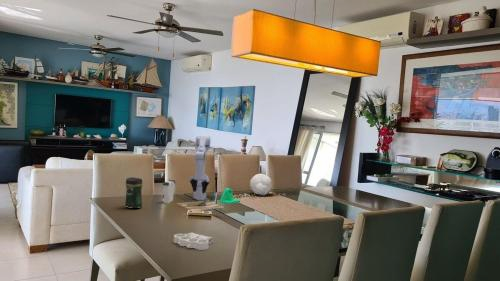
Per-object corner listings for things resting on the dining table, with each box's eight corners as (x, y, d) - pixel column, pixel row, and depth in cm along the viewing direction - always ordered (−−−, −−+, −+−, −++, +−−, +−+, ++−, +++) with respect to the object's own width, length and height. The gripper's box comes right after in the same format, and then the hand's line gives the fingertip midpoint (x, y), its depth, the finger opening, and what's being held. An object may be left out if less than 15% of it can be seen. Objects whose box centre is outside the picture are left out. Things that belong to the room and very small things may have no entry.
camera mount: (227, 206, 250) (228, 190, 249) (219, 204, 255) (220, 189, 254) (240, 204, 259) (241, 188, 258) (232, 202, 264) (233, 187, 263)
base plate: (177, 205, 245) (177, 199, 245) (207, 202, 257) (207, 196, 257) (191, 213, 228) (192, 206, 227) (224, 209, 240) (224, 203, 240)
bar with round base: (185, 205, 239) (185, 201, 239) (203, 203, 246) (203, 199, 246) (189, 207, 235) (189, 203, 235) (207, 205, 242) (207, 201, 242)
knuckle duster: (218, 244, 175) (198, 253, 163) (188, 236, 184) (166, 244, 172) (219, 237, 175) (198, 245, 162) (188, 230, 184) (166, 237, 172)
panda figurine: (164, 201, 255) (164, 179, 255) (180, 203, 253) (181, 180, 252) (156, 205, 244) (156, 181, 243) (173, 207, 241) (173, 183, 240)
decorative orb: (259, 191, 305) (260, 171, 304) (278, 194, 295) (279, 174, 294) (244, 194, 289) (244, 173, 288) (263, 198, 279) (264, 176, 278)
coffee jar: (144, 208, 235) (145, 177, 234) (134, 210, 229) (135, 179, 227) (132, 205, 240) (133, 176, 239) (122, 208, 233) (123, 177, 232)
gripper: (187, 169, 242) (186, 191, 243) (204, 172, 234) (203, 194, 234) (194, 169, 248) (193, 190, 248) (212, 171, 240) (211, 193, 240)
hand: (199, 192), depth 242 cm, fingers open, 7 cm apart
